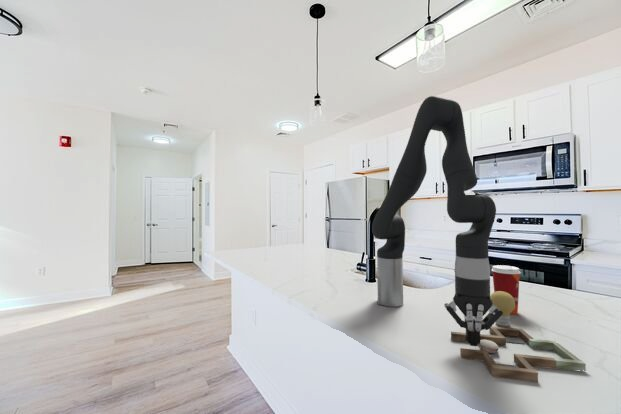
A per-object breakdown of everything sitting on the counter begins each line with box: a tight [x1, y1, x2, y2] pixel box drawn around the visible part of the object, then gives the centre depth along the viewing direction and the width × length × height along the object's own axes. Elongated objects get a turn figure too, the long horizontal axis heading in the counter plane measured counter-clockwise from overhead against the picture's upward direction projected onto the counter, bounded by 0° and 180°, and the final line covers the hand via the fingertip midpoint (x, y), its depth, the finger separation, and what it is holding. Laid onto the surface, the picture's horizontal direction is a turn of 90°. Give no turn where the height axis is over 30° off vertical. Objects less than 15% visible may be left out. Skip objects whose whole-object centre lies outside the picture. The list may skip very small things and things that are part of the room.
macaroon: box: [477, 339, 499, 354], centre depth 67 cm, size 4×5×2 cm
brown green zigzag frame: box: [450, 325, 587, 383], centre depth 66 cm, size 24×23×2 cm
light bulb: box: [490, 291, 515, 328], centre depth 82 cm, size 6×6×10 cm
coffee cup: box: [490, 264, 522, 316], centre depth 93 cm, size 8×8×15 cm
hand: (473, 344), depth 68 cm, fingers closed
